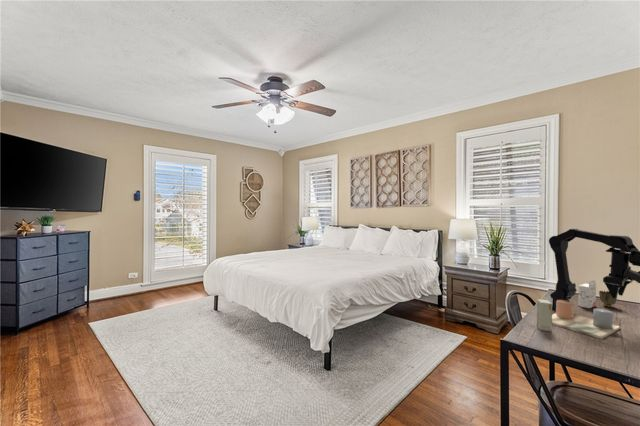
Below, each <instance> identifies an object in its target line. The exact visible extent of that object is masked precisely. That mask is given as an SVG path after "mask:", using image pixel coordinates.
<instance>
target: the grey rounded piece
mask: <svg viewBox="0 0 640 426" xmlns="http://www.w3.org/2000/svg"><path fill="white" fill-rule="evenodd" d="M592 315H593V316H592V319H593V325H594V326H596V327H599V328H603V329H613V325H614V312H613V311H612V310H607V309H605V308H604V309H603V308H598V307H597V308H593V311H592Z"/></svg>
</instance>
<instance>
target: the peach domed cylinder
mask: <svg viewBox="0 0 640 426" xmlns="http://www.w3.org/2000/svg"><path fill="white" fill-rule="evenodd" d="M574 309H575V305H574V302H573V301H570V300H569V301H565V300H557V301H556V310H555V313H556V315H557V316H559V317H563V318H568V319H572V318H573V316H574V315H575V313H574V312H575V310H574Z"/></svg>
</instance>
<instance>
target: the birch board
mask: <svg viewBox="0 0 640 426" xmlns="http://www.w3.org/2000/svg"><path fill="white" fill-rule="evenodd" d="M552 325H553V326H556V327H560V328H564V329H566V330H570V331H573V332H577V333H580V334H584V335H587V336H589V337H594V338H597V339H600V340H604V339H605V338H606V337H608V336H609V335H612V334H614V333H615V332H617V331H619V330H620V329H621V326H619V325H615V324H613V329H603V328H599V327H596V326H594V325H593V318H588V317H585V316H581V315H577V314H574V316H573V318H572V319H568V318H563V317H559V316H557V315H556V312H555V313H552Z"/></svg>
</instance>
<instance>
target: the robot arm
mask: <svg viewBox="0 0 640 426" xmlns="http://www.w3.org/2000/svg"><path fill="white" fill-rule="evenodd" d="M575 238H579V239H581V240H582V239H584V240H588V241H591V242H592V241H593V242H597V243H602V244H604V245H606V246H608V247H609V248H608V249H606V250H605V252H606V253H611V255H610V256H611V257H610V258H611V260H610V264H609V266H608V267H609V268H610V272H609V273H608V275H606V276H604V277H602V282H603V283H604V284H605V287H606V288H607V291H609V292H610V294H611V296H612V298H614V299H616V297H617V298H618V295H619V296H623V295H624V293H625V291H626V288H627V286H628V285H629V284H632V283H633V282H636V283H637V284H640V270H639V271H636V270H633V269H632V267H631V266H630V264H631V265H632V266H635V267H640V250H639V248H637V246H635V244H634V243H633V240H632V238H631V237H630V236H628V235H612V234H610V235H609V234H602V233H597V232H592V231H587V230H581V229H579V228H571V229H569V230H566V231H564V232H562V233H560V234H557V235H553V236H550V237H549V239H548V243H549V245H550V248H551V250H552V251H553V253H554V259H555V266H556V274H557V282H556V284H555V290H554V291H553V292H552V293H550V294H549V295H550V299H551V300H552V302H551V303H552V311H556V301H557V300H565V301H570V300H571V299H572V297H574V296H575V295H576V292H578V291H577V288H576V287H577V286H576V283H575V282H573V281H571V279H570V273H569V272H570V271H569V266H568V259H567V252H568V251H567V250H568V248H569V242H572V241H573V240H574V239H575ZM617 294H618V295H617Z"/></svg>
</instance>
